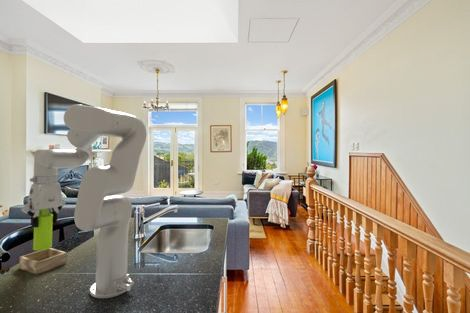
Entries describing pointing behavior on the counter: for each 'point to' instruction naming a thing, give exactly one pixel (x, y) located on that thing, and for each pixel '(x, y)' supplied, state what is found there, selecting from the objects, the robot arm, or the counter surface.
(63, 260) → the box
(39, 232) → the soap dispenser
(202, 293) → the counter surface
